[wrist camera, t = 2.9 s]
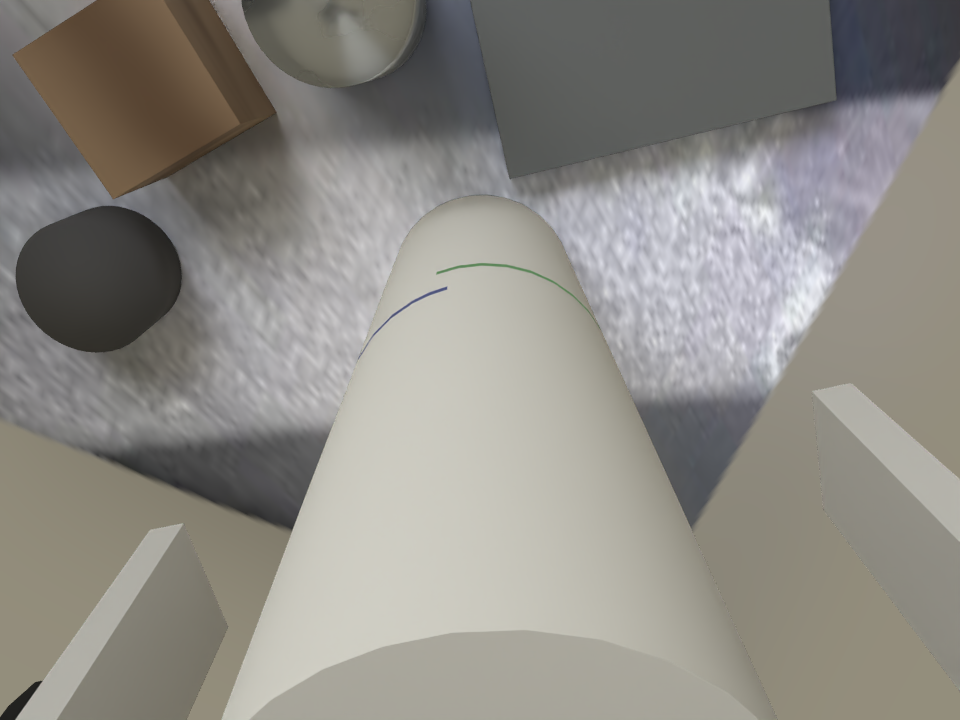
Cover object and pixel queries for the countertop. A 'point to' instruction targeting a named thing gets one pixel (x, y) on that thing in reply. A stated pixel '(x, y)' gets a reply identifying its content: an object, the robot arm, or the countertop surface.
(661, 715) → the cylindrical container
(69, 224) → the black rubber puck
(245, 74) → the walnut block
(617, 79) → the plate
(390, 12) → the grey metal tin
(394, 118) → the countertop surface
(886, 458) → the robot arm
